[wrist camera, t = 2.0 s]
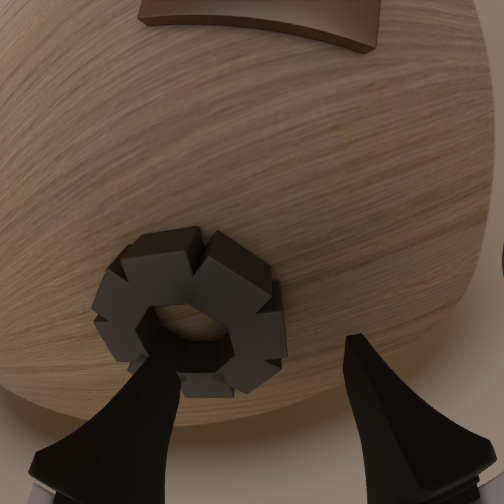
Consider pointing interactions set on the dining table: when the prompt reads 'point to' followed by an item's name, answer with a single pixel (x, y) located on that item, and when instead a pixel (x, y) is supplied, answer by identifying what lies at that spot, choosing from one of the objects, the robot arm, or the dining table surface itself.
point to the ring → (202, 298)
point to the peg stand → (277, 17)
